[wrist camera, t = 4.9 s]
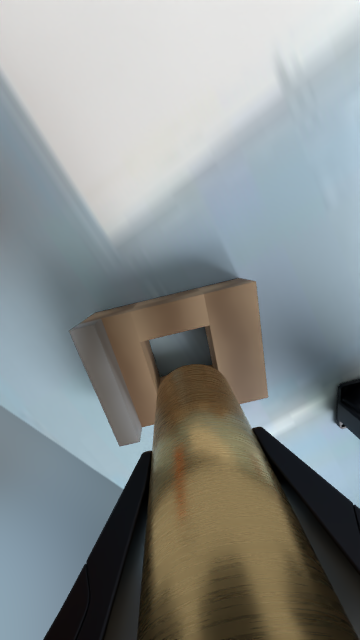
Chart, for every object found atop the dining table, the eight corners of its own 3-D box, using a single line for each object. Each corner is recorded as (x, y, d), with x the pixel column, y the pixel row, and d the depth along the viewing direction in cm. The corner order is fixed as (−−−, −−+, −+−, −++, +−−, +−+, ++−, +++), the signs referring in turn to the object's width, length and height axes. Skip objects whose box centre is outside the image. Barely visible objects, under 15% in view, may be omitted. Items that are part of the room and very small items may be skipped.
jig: (239, 277, 18) (265, 283, 13) (252, 375, 21) (277, 409, 16) (95, 312, 18) (68, 330, 13) (130, 404, 21) (119, 446, 16)
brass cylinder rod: (225, 356, 10) (492, 788, 2) (234, 418, 12) (417, 838, 3) (148, 373, 10) (58, 885, 2) (166, 433, 12) (162, 894, 3)
